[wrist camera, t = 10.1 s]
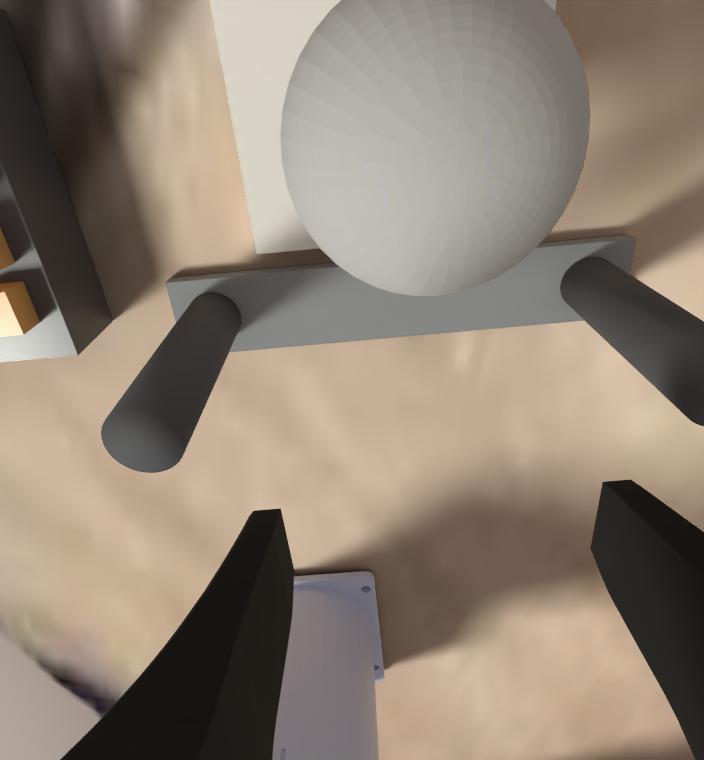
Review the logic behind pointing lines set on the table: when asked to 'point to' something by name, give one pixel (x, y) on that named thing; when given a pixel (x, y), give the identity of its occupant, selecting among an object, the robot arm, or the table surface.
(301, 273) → the cable posts
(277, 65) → the mat
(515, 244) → the light bulb
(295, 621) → the robot arm
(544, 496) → the table surface
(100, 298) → the terminal block
